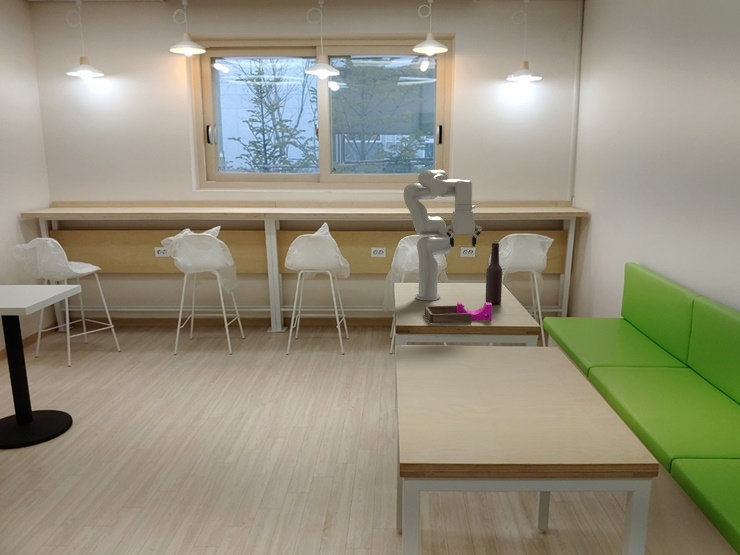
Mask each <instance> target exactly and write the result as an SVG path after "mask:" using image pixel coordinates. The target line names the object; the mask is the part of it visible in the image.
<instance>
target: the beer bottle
mask: <svg viewBox="0 0 740 555" xmlns="http://www.w3.org/2000/svg"><path fill="white" fill-rule="evenodd" d="M485 279H486V280H485V282H486V283H485V303H492V306H498V305H501V304H502V291H503V290H502V286H503V269H502V266H501V265H500V243H499V242H492V243H491V255H490V263H489V265H488V266H487V268H486V277H485Z"/></svg>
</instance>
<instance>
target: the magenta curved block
mask: <svg viewBox="0 0 740 555" xmlns="http://www.w3.org/2000/svg"><path fill="white" fill-rule="evenodd" d="M456 305H457V314H458V313H472V321H478V320H491V321H492V317H493V316H492V315H493V314H492V313H493V305H492V303H486V302H484V305H483V307H480V308H478V309H476V310H470V309H466V308H465V306H464V307H463V302H462V301H456Z"/></svg>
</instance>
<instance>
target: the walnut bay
mask: <svg viewBox="0 0 740 555" xmlns="http://www.w3.org/2000/svg"><path fill="white" fill-rule="evenodd" d="M462 305H463V304H462ZM463 307H464V308H465V305H463ZM424 314H425V315H424V316H425V318H426V317H427V318H426V319H427V321H428V320H429V321H428V322H429V324H430V323H440V324H467V323H470V322H471V323H472V322H473V320H472V313H458V314H457V304H456V305H428V306H427V305H425V306H424Z"/></svg>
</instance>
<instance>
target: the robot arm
mask: <svg viewBox="0 0 740 555" xmlns="http://www.w3.org/2000/svg"><path fill="white" fill-rule="evenodd" d="M417 178H418V180H417V181H418V182H416V183H415V182H414V183H409V184H407V185H406V186H405V187H404V189H403V201H404V203H405V206H406V208H407V209H408V211H409V213H410V217H411V220H412V223H413V227H414V229H415V233H416V234H417V235H418V236H421V238H419V239H417V243H416V247H417V248H416V249H417V255H418V293H417V294H415V299H417V300H420V301H426V302H427V301H437V300H440V299H441V294H438V273H439V270H438V269H439V265H438V261H437V260H436V259H437V258H435V256H437V255H439V256H440V255H446V254H449V253H450V252H451V250H452V248H454V247H455V238H454V236H455V235H464V234H465V235H467V234H470V235H472V237H471V246H472V247H476V245H477V238H478V237H479V235H480V234H481V233H482V230H483V227H482V226H481V225H477V224H476V223H475V215H474V211H473V210H474V209H476V205H473V202H472V201H473V183H472V181H471V180H467V179H465V180H463V179H448V178H449V177H448V174H447V172H445V171H444V170H441V169H426V170H423V171H421V172H420V173H419V175H418V177H417ZM438 197H441V198H449V197H450V198H452V197H454V211H452V215H451V224H449V225H447V224H446V221H445V220H444V219H443V218H442V217H440V216H430V215H429V214H428V210H427V208H426V206H425V205H424V204H423V203H422V202H421V201H422V200H434V199H436V198H438ZM420 200H421V201H420ZM449 229H450V230H451V233H450V232H449ZM476 229H477V231H476ZM475 231H476V232H475Z"/></svg>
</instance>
